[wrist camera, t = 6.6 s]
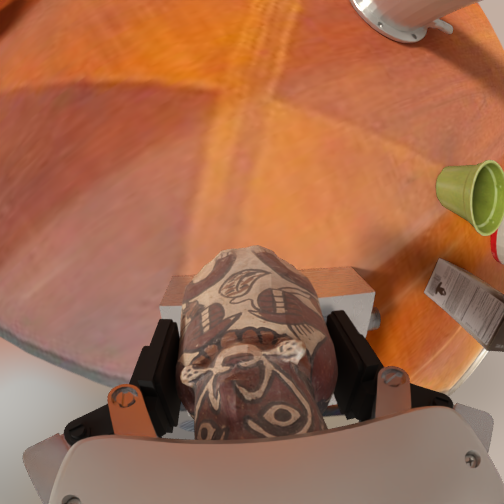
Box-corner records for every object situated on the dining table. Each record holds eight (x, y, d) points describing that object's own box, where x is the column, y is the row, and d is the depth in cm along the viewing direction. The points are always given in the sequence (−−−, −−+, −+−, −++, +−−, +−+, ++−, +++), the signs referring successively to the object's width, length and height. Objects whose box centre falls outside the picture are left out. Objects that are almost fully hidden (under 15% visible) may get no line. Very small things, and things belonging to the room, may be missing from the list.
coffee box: (467, 269, 35) (530, 312, 20) (451, 302, 37) (508, 352, 22) (438, 256, 34) (512, 305, 19) (421, 293, 36) (486, 353, 21)
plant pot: (466, 155, 29) (508, 161, 21) (466, 215, 32) (505, 231, 24) (425, 153, 29) (470, 158, 20) (426, 221, 32) (468, 241, 24)
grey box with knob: (370, 265, 33) (407, 297, 25) (350, 367, 39) (370, 406, 31) (172, 276, 32) (154, 317, 23) (192, 381, 38) (187, 427, 29)
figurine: (307, 235, 14) (468, 438, 2) (314, 343, 16) (383, 518, 5) (170, 259, 14) (70, 491, 2) (203, 362, 16) (191, 547, 5)
